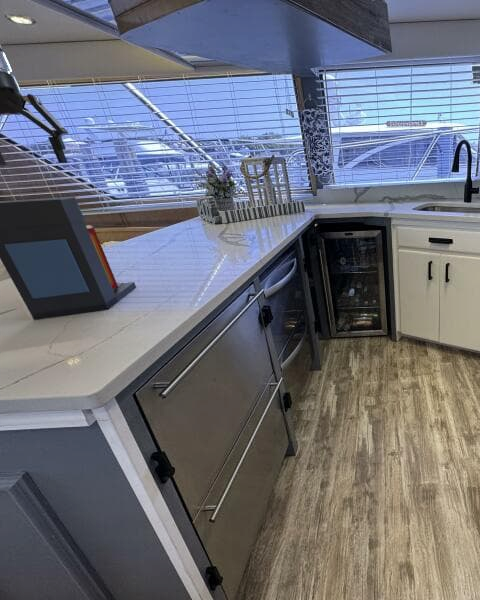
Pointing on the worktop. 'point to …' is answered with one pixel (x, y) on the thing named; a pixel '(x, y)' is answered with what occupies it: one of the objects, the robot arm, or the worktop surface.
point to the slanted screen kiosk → (54, 258)
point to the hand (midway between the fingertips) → (33, 164)
